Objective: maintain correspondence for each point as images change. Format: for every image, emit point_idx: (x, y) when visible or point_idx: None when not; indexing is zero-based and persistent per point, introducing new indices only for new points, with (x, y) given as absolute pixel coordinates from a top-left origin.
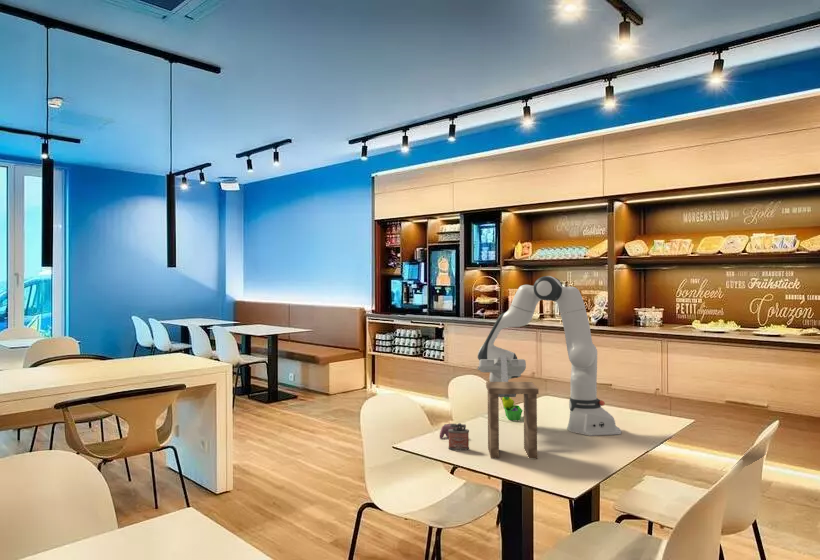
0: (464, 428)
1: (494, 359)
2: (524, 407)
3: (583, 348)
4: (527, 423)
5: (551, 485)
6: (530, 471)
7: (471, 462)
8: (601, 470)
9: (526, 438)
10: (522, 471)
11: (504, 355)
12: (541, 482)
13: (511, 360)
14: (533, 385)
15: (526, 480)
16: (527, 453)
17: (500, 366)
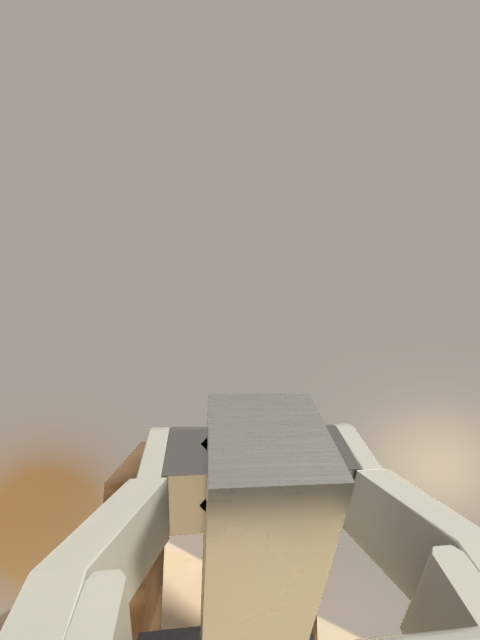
0: None
1: (471, 528)
2: (149, 586)
3: None
4: (159, 585)
5: (164, 550)
6: (182, 597)
7: (326, 634)
8: (3, 624)
9: None
10: (200, 595)
11: (238, 405)
12: (176, 557)
13: (40, 590)
14: (136, 455)
15: (200, 560)
16: None
17: (313, 620)
